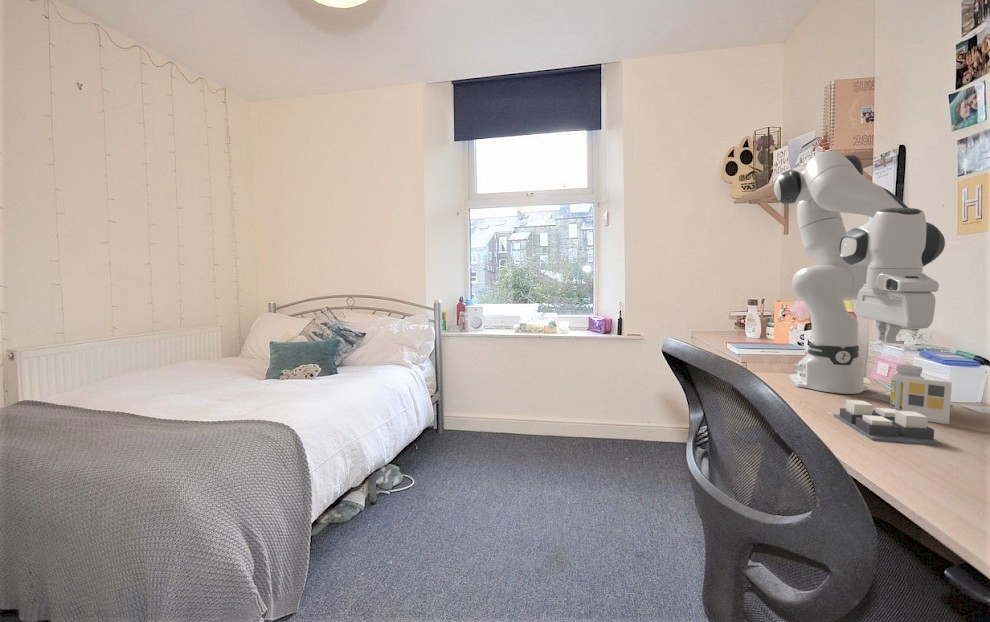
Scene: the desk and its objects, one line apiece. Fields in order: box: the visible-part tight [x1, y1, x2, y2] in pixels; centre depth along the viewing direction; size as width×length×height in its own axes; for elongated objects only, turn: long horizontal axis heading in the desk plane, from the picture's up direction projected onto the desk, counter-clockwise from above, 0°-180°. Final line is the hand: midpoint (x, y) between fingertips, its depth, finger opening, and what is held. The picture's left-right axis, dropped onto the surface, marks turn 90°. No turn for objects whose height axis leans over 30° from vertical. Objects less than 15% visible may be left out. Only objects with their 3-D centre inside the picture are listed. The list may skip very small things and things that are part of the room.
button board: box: [833, 407, 944, 446], centre depth 93 cm, size 16×12×3 cm
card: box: [902, 377, 953, 425], centre depth 98 cm, size 2×8×10 cm, turn 44°
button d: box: [862, 415, 892, 426], centre depth 90 cm, size 4×4×3 cm
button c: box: [845, 399, 874, 416], centre depth 97 cm, size 4×4×3 cm
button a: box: [875, 407, 899, 417], centre depth 95 cm, size 4×4×3 cm
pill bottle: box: [889, 364, 925, 411], centre depth 106 cm, size 6×6×12 cm
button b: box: [895, 410, 928, 429], centre depth 88 cm, size 4×4×3 cm
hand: (886, 341), depth 92 cm, fingers closed
